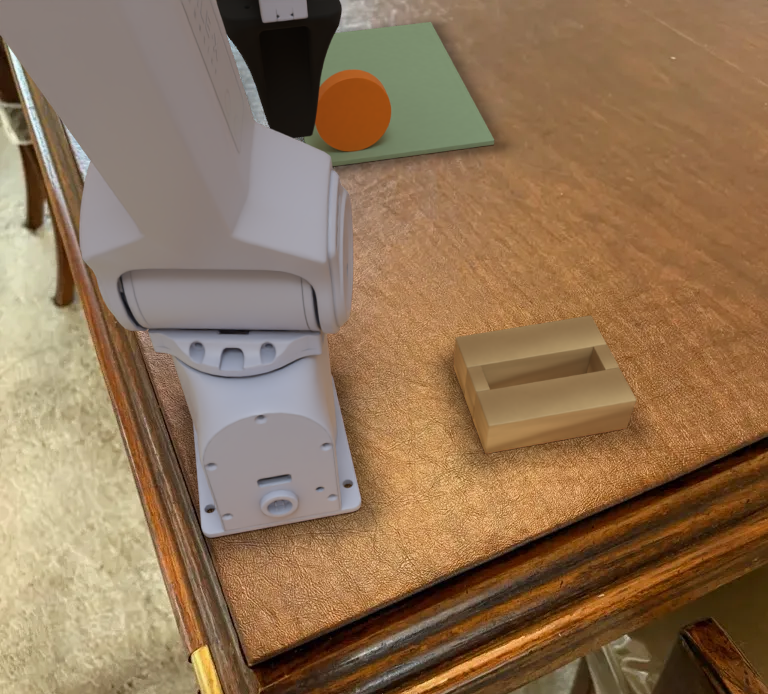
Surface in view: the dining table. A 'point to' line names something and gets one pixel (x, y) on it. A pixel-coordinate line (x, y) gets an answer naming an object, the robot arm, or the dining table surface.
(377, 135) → the disc
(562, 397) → the holder
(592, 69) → the dining table surface
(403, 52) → the mat
